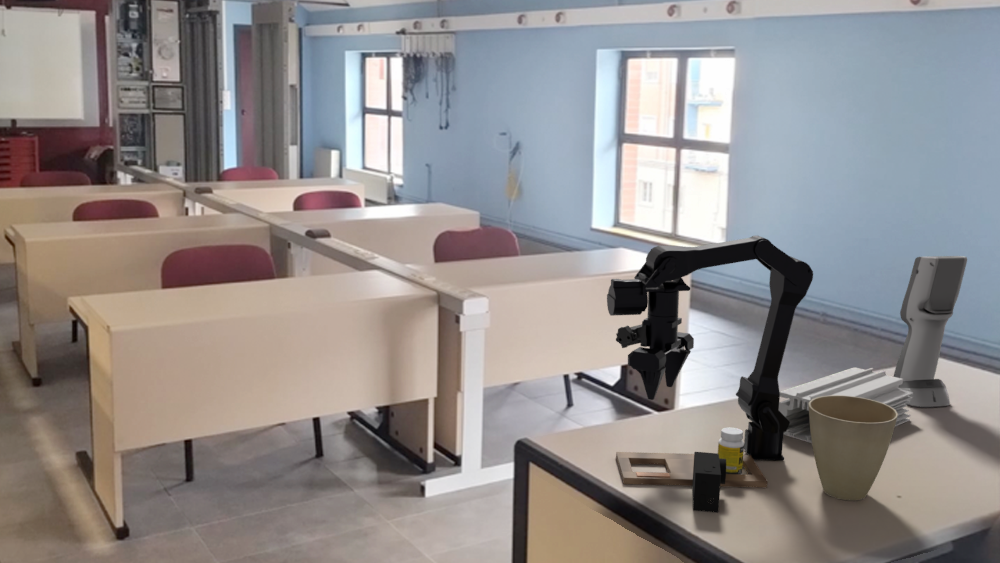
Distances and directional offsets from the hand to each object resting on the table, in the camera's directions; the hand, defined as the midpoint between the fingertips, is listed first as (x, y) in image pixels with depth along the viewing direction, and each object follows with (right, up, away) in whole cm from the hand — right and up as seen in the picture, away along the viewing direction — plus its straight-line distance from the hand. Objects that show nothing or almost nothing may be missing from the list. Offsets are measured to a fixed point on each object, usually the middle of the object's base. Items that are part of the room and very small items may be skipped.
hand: (660, 393), depth 192 cm
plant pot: (+31, -17, -12) cm, 37 cm away
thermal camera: (+68, -6, +45) cm, 81 cm away
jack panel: (+5, -14, -4) cm, 16 cm away
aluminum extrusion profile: (+43, -10, +24) cm, 51 cm away
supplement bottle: (+12, -15, -4) cm, 20 cm away
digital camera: (+6, -17, -16) cm, 24 cm away
